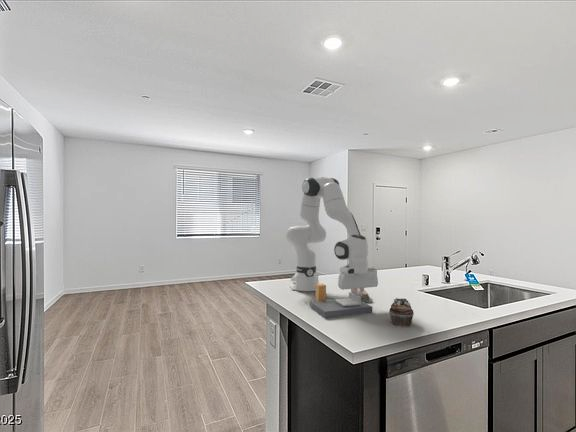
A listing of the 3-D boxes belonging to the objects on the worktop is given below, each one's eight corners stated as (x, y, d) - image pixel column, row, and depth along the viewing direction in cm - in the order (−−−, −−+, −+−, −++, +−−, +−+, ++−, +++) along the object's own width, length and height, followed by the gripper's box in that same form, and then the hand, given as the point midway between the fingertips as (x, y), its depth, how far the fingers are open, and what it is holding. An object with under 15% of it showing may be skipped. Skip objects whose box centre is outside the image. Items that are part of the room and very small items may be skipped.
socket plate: (310, 308, 146) (310, 301, 146) (354, 303, 154) (354, 297, 154) (324, 318, 131) (324, 311, 131) (372, 313, 138) (372, 306, 138)
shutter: (334, 301, 146) (334, 293, 146) (351, 299, 149) (351, 292, 149) (343, 306, 138) (343, 298, 138) (360, 304, 141) (360, 296, 141)
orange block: (315, 303, 154) (315, 284, 154) (322, 303, 155) (322, 283, 155) (318, 306, 150) (318, 285, 150) (326, 305, 151) (326, 285, 151)
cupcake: (385, 319, 130) (385, 296, 130) (407, 319, 130) (407, 296, 130) (394, 327, 120) (394, 302, 120) (418, 327, 121) (418, 302, 121)
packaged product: (372, 293, 156) (353, 293, 157) (372, 303, 156) (353, 303, 157) (365, 285, 174) (348, 285, 175) (365, 294, 174) (348, 294, 175)
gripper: (373, 266, 152) (373, 293, 152) (336, 268, 145) (336, 297, 145) (380, 268, 146) (380, 297, 146) (343, 270, 139) (343, 300, 139)
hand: (358, 297), depth 145 cm, fingers closed
